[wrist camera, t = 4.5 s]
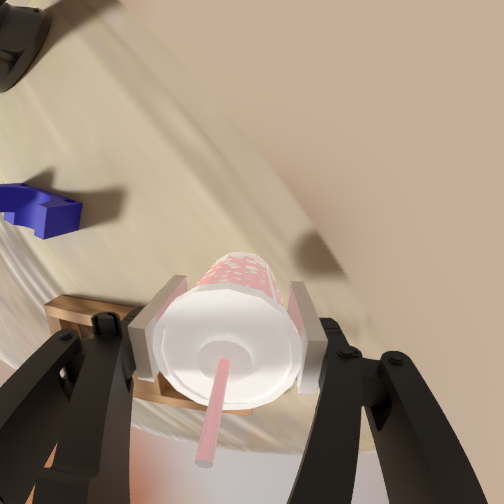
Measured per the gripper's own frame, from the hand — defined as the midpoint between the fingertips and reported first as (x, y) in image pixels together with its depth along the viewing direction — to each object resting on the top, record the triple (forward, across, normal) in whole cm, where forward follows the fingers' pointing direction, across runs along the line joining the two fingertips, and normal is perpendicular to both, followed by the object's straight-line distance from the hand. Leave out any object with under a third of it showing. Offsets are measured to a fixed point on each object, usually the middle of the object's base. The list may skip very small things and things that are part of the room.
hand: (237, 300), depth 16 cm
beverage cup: (+3, 0, 0) cm, 3 cm away
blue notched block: (+10, -24, +5) cm, 26 cm away
